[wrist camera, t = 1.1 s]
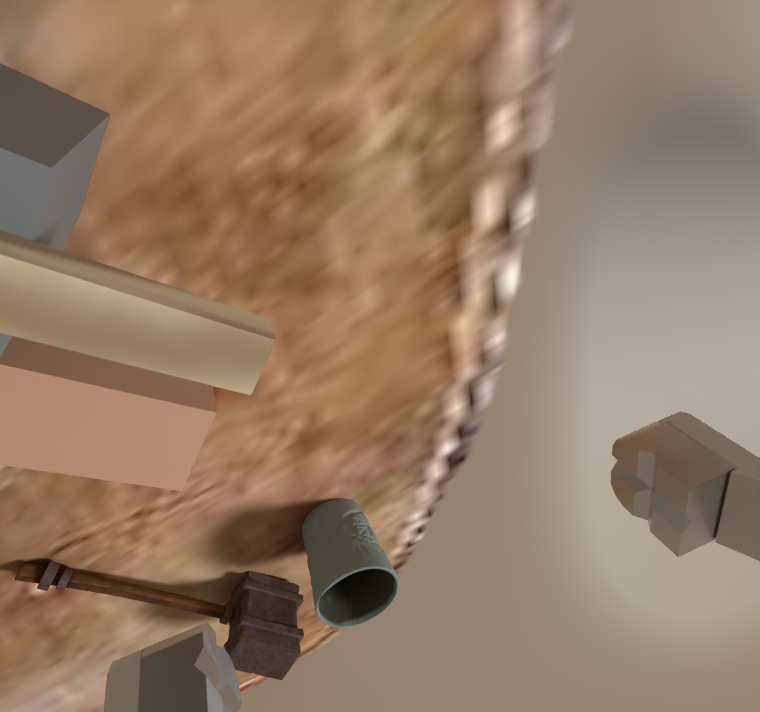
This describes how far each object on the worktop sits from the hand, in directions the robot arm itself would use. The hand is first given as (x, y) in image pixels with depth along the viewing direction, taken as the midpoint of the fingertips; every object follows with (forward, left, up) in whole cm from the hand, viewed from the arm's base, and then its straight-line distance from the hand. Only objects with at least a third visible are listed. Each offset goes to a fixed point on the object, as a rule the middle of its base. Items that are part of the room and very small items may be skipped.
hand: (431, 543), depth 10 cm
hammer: (+49, +12, -44) cm, 67 cm away
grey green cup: (+37, +29, -44) cm, 64 cm away
